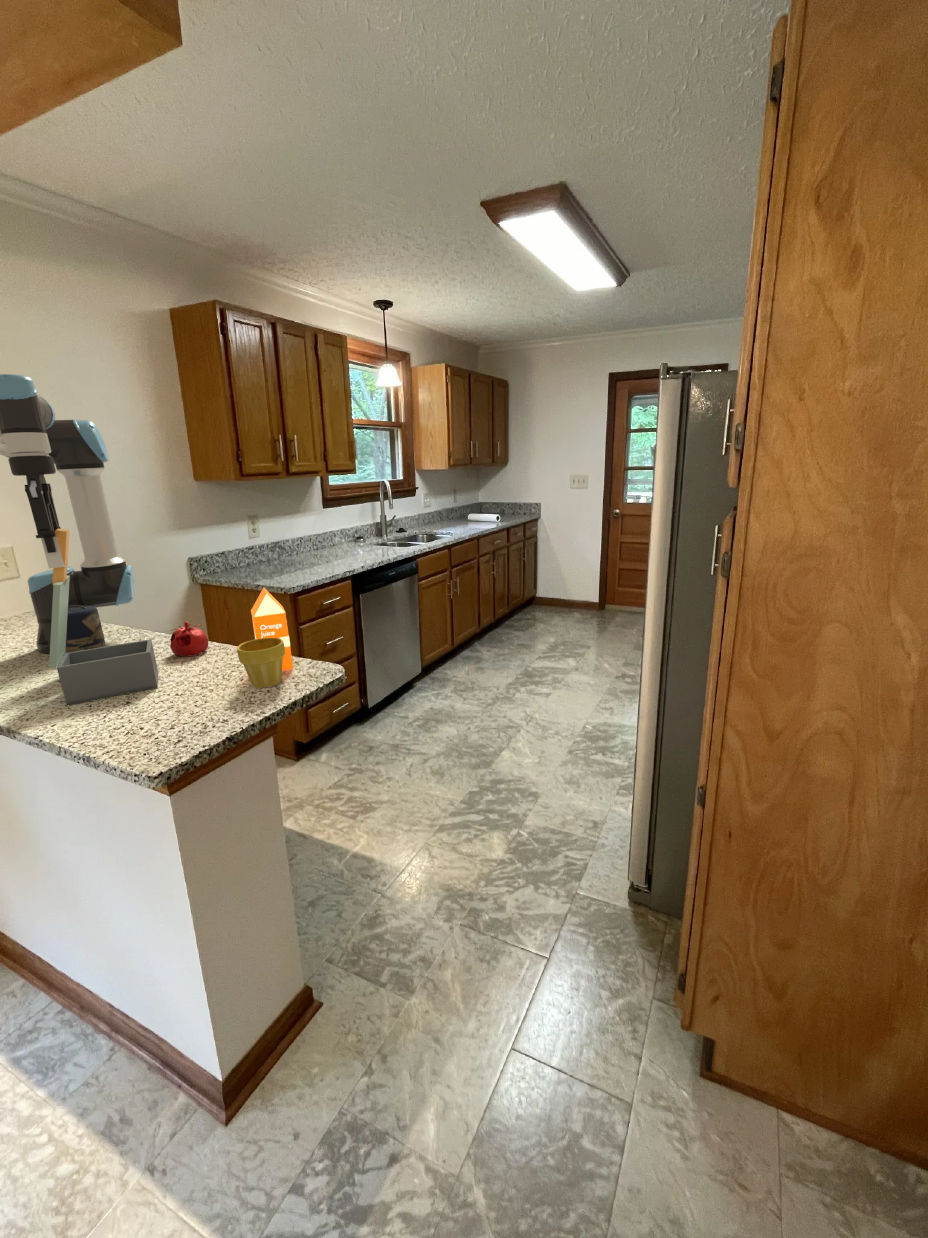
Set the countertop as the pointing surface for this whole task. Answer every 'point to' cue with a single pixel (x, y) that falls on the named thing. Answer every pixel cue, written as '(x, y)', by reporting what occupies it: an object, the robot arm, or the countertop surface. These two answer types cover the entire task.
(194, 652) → the pomegranate
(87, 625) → the canister
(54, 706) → the countertop surface
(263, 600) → the orange juice
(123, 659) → the tub
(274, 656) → the plant pot
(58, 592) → the lid
